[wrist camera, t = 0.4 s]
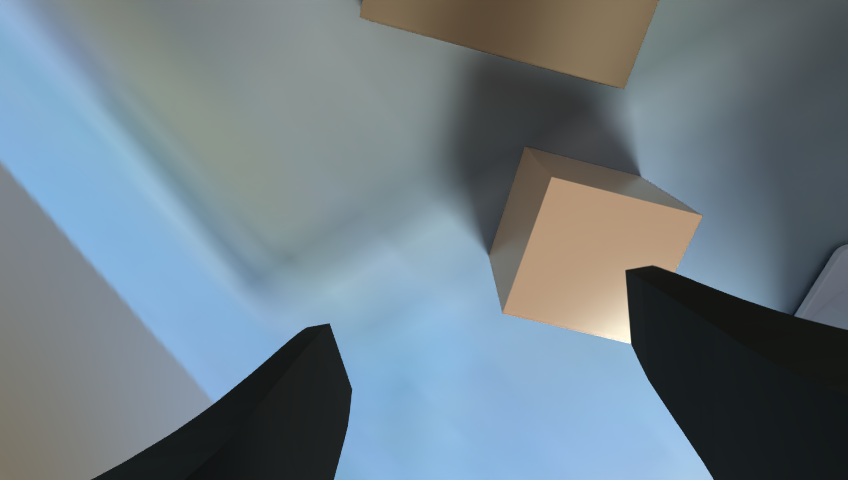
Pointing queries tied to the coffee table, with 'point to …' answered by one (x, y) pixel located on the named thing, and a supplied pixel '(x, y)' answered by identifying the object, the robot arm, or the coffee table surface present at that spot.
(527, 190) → the cube
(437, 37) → the tan flat block
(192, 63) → the coffee table surface
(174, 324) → the coffee table surface
